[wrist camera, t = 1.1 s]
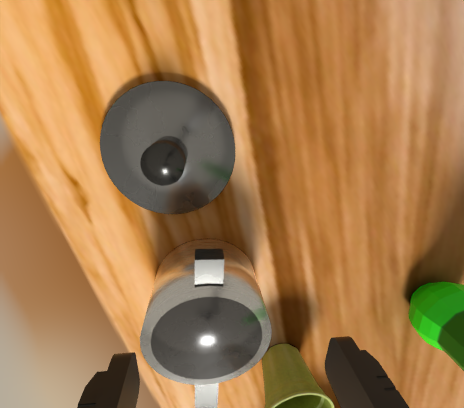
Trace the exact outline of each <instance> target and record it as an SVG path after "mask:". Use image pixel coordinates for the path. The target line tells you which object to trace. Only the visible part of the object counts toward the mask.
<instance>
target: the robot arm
mask: <svg viewBox="0 0 464 408" xmlns="http://www.w3.org/2000/svg"><path fill="white" fill-rule="evenodd" d="M325 370H326V374H327V378H328V380H329V382H330V384H331V387H332V389H333V391H334V393H335V396H336V398H337V400H338V402H339V404H340V407H341V408H409V406H408V405H407V404H406V402H405V401H404V399H403V398H402V396H401V395H400V393H399V392H398V390H396V388H395V386H394V384H393V383H392V381H391V380H390V378H388V376H387V374H386V372H385V371H384V369H383V368H382V367H381V365H380V364H379V362H378V361H377V360H376V359H375V358H374V357H373V356H371V355H370V354H369V353H368V352H367V351H366V350H359V348H358V347H357V345H356V343H355V342H354V340H353V339H352V338H351V337H335V338H331V339H330V343H329V347H328V351H327V355H326V359H325ZM139 385H140V379H139V372H138V366H137V360H136V354H135V353H122V354H114V355H113V357H112V359H111V362H110V364H109V367H108V370H107V371H104V372H97V373H96V374H95V375H94V377H93V378H92V379H91V380H90V382H89V383H88V384H87V385H86V387H85V389H84V391H83V393H82V396H81V399H80V401H79V403H78V407H77V408H136V403H137V399H138V394H139Z"/></svg>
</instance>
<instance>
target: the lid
mask: <svg viewBox="0 0 464 408" xmlns="http://www.w3.org/2000/svg"><path fill="white" fill-rule="evenodd" d="M100 149H101V156H102V161H103V163H104V166H105V169H106V171H107V173H108V175H109V177H110V179H111V180H112V182H113V183H114V185H115V186H116V187H117V188H118V189H119V191H120V192H121V193H122V194H124V195H125V196H126V197H127V198H128V199H130V200H131V201H132V202H134V203H135V204H137V205H139V206H141V207H143V208H145V209H148V210H151V211H154V212H158V213H164V214H181V213H187V212H190V211H194V210H197V209H199V208H201V207H203V206H205V205H206V204H208V203H210V202H211V201H212V200H213V199H215V198H216V197H217V196H218V195H219V194H220V193H221V191H222V190H223V189H224V187H225V186H226V184H227V182H228V181H229V179H230V176H231V174H232V171H233V167H234V161H235V143H234V137H233V134H232V130H231V128H230V125H229V123H228V121H227V119H226V117H225V116H224V114H223V113H222V111H221V110H220V109H219V107H218V106H217V105H216V104H215V103H214V102H213V101H212V100H211V99H210V98H208V97H207V96H206V95H205V94H203V93H201V92H200V91H198V90H196V89H195V88H192V87H190V86H188V85H185V84H181V83H178V82H171V81H155V82H148V83H145V84H142V85H139V86H136V87H134V88H132V89H130V90H129V91H127V92H126V93H124V94H123V95H122V96H121V97H120V98H119V99H118V100H117V101H116V102H115V103H114V104H113V105H112V107H111V108H110V110H109V111H108V113H107V115H106V117H105V120H104V122H103V125H102V130H101V136H100Z"/></svg>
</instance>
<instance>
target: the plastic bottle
mask: <svg viewBox="0 0 464 408" xmlns="http://www.w3.org/2000/svg"><path fill="white" fill-rule="evenodd" d="M409 319H410V321H411V324H412V325H413V327H414V328H415V330H416V331H417V332H418V334H419V335H420V336H421V337H422V338H423V339H424V340H425V341H426V342H427V343H428V344H430V345H432V346H434V347H436V348H438V349H440V350H443V351H445V352H446V353H447V354H448V355H449V356H450V357H451V358H452V359H453V360H454V361H455V362H456V363H457V364H458V366H459V367H460V368H461V369H462V370H463V371H464V285H462V284H457V283H450V282H435V283H428V284H425V285H423V286H420V287H419V288H418V289H417V290H416V291H415V292H414V293H413V294H412V296H411V300H410V309H409Z"/></svg>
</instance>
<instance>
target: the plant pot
mask: <svg viewBox="0 0 464 408" xmlns="http://www.w3.org/2000/svg"><path fill="white" fill-rule="evenodd" d="M262 367H263V377H264V389H265V402H266V404H265V408H334V404H333V402H332V400H331V399H330V398H329V397H328V396H327V395H325V393H324V392H323V390H322V389H321V388H320V387H319V386H318V384H317V382H316V381H315V379H314V377H313V376H312V374H311V372H310V370H309V369H308V367H307V365H306V363H305V362H304V360H303V358H302V356H301V354H300V353H299V351H298V349H297V348H296V347H293V346H291V345H289V344H277V345H274V346H272V347H271V348H269V350H268V351H267V352H266V353H265V354H264V356H263V357H262Z"/></svg>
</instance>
